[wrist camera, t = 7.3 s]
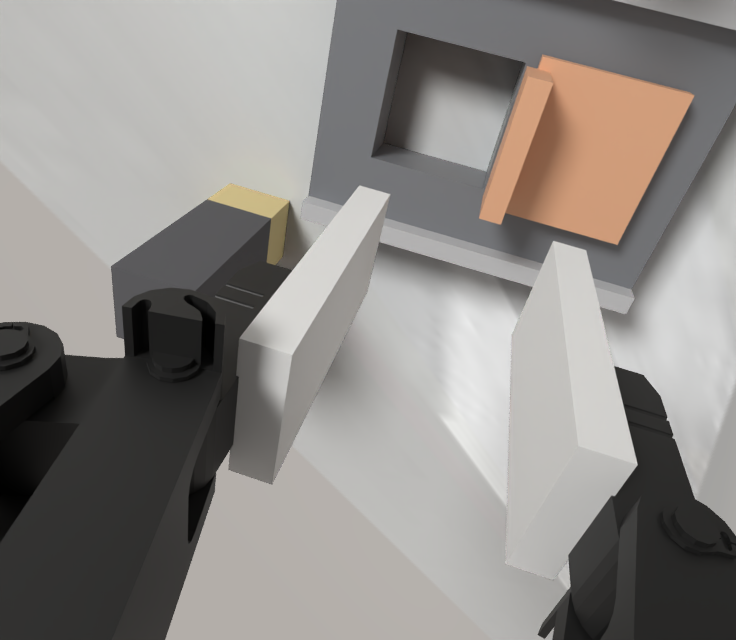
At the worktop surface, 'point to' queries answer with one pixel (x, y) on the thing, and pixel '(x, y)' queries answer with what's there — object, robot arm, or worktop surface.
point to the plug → (204, 247)
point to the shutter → (581, 148)
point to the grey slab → (467, 185)
